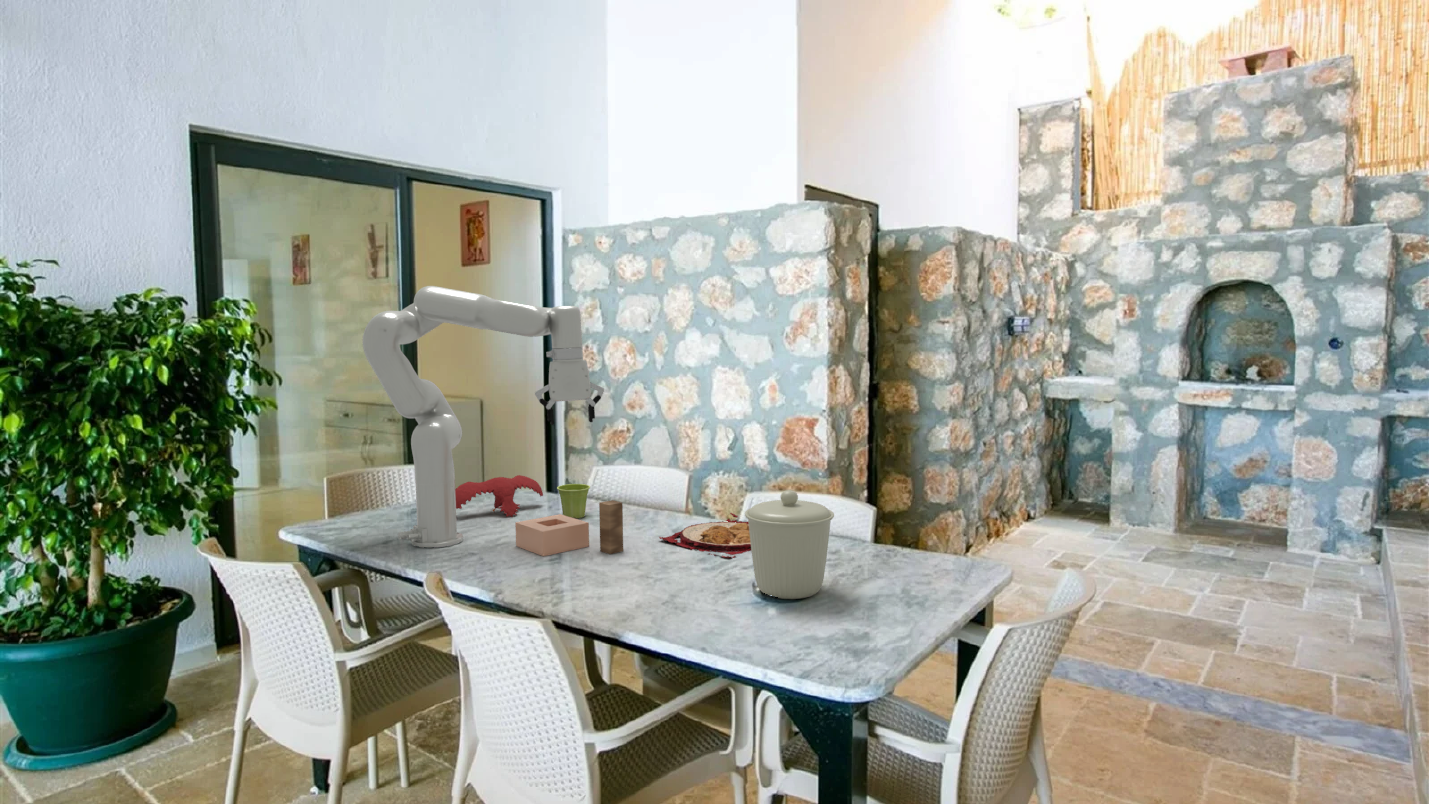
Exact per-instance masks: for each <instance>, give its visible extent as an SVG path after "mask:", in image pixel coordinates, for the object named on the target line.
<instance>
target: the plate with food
mask: <svg viewBox="0 0 1429 804" xmlns="http://www.w3.org/2000/svg"><path fill="white" fill-rule="evenodd" d="M730 515H731V516H732V517H733V518H738V517H739V515H736V514H734V513H732V512H730ZM732 517H731V519H732V520H731V519H730V517H729V518H727V519H726V520H725V521H728V522H724V521H717V522H716V521H713V522H712V521H709V522H706V523H705V522H704V523H696V524H692V525H689V526H687V527H685V528H684V529H682V530H681V531H679V532H675V533H674V534H672V535H669V536H666V537H664V536H662V537H661V536H658V537H659V539H660V540H663V541H668V542H669V543H672V544H673V543H675V545H676V546H680V547H683V548H689V549H690V550H691V551H693V550H698V551H699V552H701V553H702V552H709V553H708V555H709V556H710V555H711V556H714V557H717V556H719V555H717V554H715V553H723V554H722V555H721V557H722V558H724V559H729V558H730V559H735V558H737V556H736V555H740V554H744V553H747V552H752V551H751V542H750V533H749V523H748V521H741V520H740V521H738V520H737V519H733V518H732ZM735 522H736V523H735ZM678 537H679V539H680V540H678V539H677V538H678ZM678 541H679V542H678ZM711 552H714V553H713V554H712V553H711ZM724 554H727V556H725V555H724Z"/></svg>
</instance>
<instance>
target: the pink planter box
mask: <svg viewBox="0 0 1429 804" xmlns="http://www.w3.org/2000/svg"><path fill="white" fill-rule="evenodd" d="M589 528H590V524H589V522H588V521H584V520H581V519H579V518H571V517H568V516H565V515H563V514H561V513H560V514H555V515H549V516H543V517H537V518H532V519H527V520H526V519H525V520H522V521H517V522H515V546H516V547H517V548H520V549H523V550H526V551H528V552H531V553H534V554H536V555H539V556H542V557H546V556H551V555H556V554H560V553H565V552H571V551H573V550H579V549H583V548H588V547H590V529H589Z"/></svg>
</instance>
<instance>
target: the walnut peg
mask: <svg viewBox="0 0 1429 804" xmlns="http://www.w3.org/2000/svg"><path fill="white" fill-rule="evenodd" d="M598 504H599V505H598V506H599V507H598V509H599V511H598V512H599V514H598V515H599V550H600V552H602V553H605V554H606V555H607V554H608V555H613V554H617V553H621V552H624V517H623V516H624V515H623V514H624V513H623V512H624V511H623V505H624V504H623V502H621V501H618V500H613V499H612V500H608V501H607V500H606V501H601V502H599V503H598Z"/></svg>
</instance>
